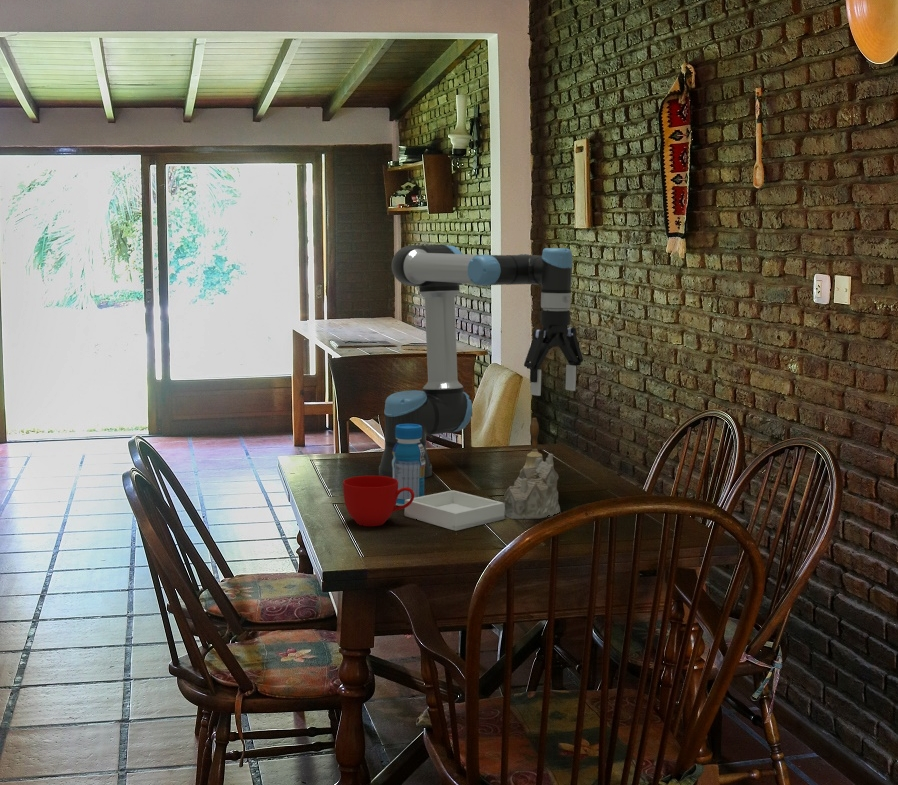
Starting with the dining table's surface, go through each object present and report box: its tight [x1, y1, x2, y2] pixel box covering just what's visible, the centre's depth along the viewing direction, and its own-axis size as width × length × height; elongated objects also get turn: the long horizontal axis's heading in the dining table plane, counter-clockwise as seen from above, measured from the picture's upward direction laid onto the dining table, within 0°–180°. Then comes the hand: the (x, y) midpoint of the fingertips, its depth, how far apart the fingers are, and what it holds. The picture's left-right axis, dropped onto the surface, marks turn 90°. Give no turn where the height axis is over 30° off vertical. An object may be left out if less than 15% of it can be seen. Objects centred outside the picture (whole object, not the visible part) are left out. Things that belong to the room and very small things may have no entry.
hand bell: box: [519, 417, 544, 474], centre depth 317 cm, size 8×8×16 cm
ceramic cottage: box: [503, 453, 561, 520], centre depth 272 cm, size 16×16×15 cm
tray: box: [404, 489, 505, 531], centre depth 265 cm, size 18×16×4 cm
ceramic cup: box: [342, 475, 414, 527], centre depth 259 cm, size 13×17×10 cm
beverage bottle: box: [392, 424, 425, 507], centre depth 278 cm, size 8×8×20 cm
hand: (553, 392), depth 282 cm, fingers open, 13 cm apart
